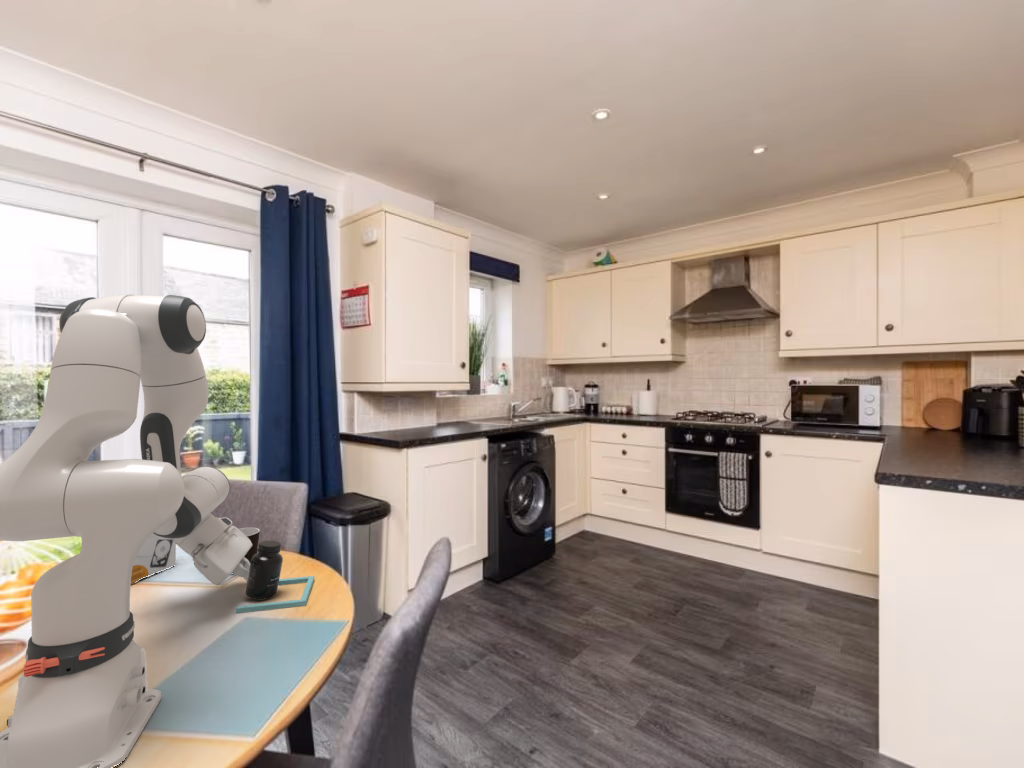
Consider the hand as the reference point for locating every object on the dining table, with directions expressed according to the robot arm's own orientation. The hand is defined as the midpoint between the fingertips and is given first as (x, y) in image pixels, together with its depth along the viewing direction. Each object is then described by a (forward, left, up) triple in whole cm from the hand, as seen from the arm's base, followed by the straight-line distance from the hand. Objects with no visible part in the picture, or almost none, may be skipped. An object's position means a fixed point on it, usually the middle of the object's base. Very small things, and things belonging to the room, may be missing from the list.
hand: (252, 576), depth 113 cm
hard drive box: (+29, +25, -5) cm, 39 cm away
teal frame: (-2, -5, -5) cm, 7 cm away
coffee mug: (+19, +2, -5) cm, 19 cm away
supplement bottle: (0, -2, -5) cm, 5 cm away
